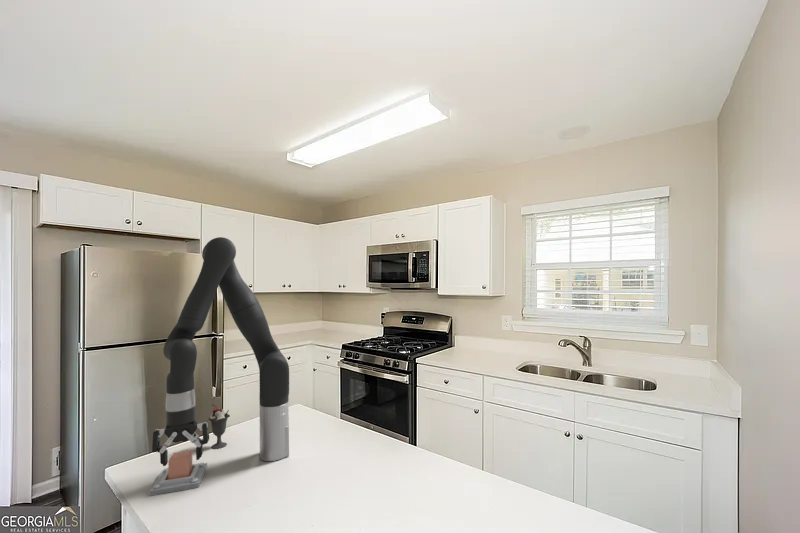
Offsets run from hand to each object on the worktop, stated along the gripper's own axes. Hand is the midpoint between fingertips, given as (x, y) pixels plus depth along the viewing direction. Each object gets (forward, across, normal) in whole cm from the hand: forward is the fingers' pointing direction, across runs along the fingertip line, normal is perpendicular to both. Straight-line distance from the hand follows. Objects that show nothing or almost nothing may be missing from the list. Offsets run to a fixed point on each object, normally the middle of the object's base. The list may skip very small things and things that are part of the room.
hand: (181, 461), depth 107 cm
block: (+4, 0, 0) cm, 4 cm away
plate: (+6, +1, 0) cm, 6 cm away
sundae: (+6, -7, -21) cm, 23 cm away
